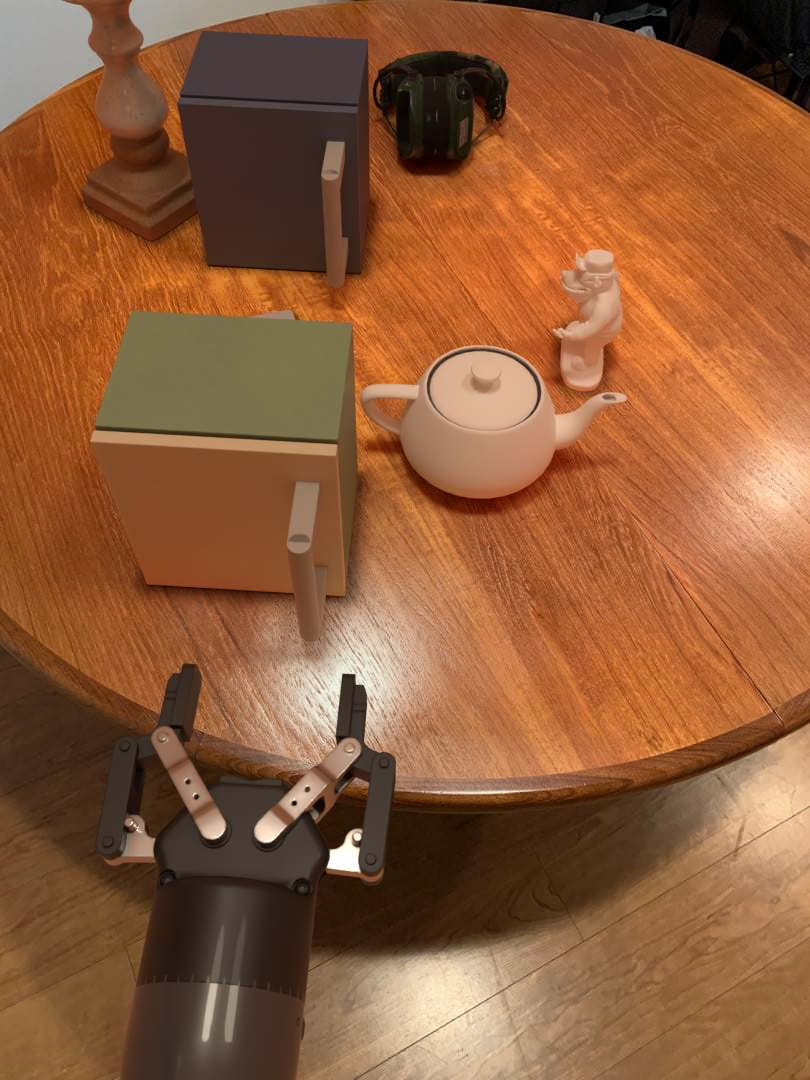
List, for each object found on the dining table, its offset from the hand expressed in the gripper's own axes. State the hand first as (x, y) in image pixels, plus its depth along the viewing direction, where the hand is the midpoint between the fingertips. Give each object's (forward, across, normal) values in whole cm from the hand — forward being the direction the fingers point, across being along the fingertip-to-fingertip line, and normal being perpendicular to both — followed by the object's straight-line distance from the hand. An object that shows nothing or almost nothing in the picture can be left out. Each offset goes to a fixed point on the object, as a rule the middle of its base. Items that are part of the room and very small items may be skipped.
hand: (270, 674), depth 50 cm
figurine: (+45, -22, +18) cm, 53 cm away
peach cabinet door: (+14, +6, +18) cm, 23 cm away
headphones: (+82, -7, +18) cm, 84 cm away
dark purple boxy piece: (+62, +8, +18) cm, 65 cm away
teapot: (+32, -13, +18) cm, 39 cm away
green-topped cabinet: (+23, +6, +18) cm, 30 cm away
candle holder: (+66, +24, +18) cm, 72 cm away
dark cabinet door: (+53, +8, +18) cm, 56 cm away
